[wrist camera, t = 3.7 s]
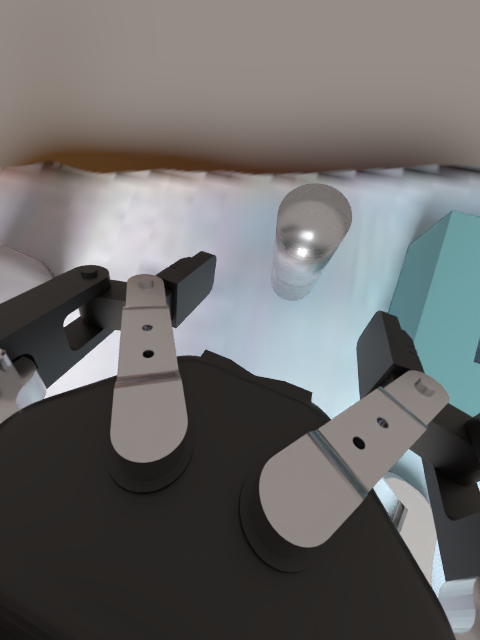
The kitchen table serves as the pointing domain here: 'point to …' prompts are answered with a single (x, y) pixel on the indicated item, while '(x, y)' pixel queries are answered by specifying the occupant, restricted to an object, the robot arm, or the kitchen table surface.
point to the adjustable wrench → (414, 522)
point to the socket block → (445, 305)
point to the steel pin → (307, 237)
